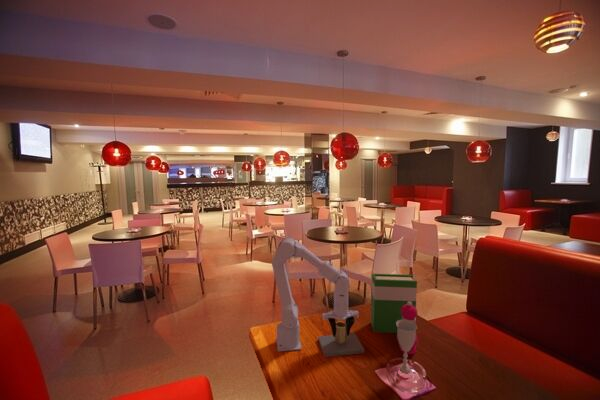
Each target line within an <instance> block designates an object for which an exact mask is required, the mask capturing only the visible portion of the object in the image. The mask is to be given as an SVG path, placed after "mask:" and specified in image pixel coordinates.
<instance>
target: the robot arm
mask: <svg viewBox="0 0 600 400" xmlns="http://www.w3.org/2000/svg"><path fill="white" fill-rule="evenodd" d="M293 256H294V257H293ZM292 257H293V258H294V259H296V258H297V259H298V258H300V259H301V258H302V259H304V260H305V261H306V262H308V263H309V264H310V265H312V266H314V267H315V268H317V272H318V274H319V275H321V276H323V278H325V279H326V280H328V281H329V282H330V283H332V284H334V291H333V310H332V311H328V312H326V313H323V312H322V319H323V321H327V320H328V322H329V325H330V328H331V335H333V336H334V337H335V336H336V331H335V329H336V322H337V321H336V319H338V320H340V321H345V323H346V324H347V325H348V329H347V336H349V334H350V332H351V330H352V328H353V325H354V324H355V321H356V320H355V318H356V319H357V318H360V313H359V311H358V310H351V309H350V310H349V288H350V286H351V283H350V281H349V280H350V279H349V277H348V274H347V273H345V271H344V270H341V269H339V268H337V267H336V266H334V264H333V262H331V261H328V260H321V259H320V258H319V257H318V256H316V254H315V253H313V252H312V251H310V250H309V249H308V248H307V247H306V246H305V245H303V244H302V243H301V242H299V241H298V240H295V238H293V237H292V236H286V237H284V238H282V240H281V241H280V242H279V244H278V246H277V248H276V251H275V252H274V255H273V257H272V260H271V266H272V271H273V275H274V278H275V279H274V280H275V283H276V288H277V292H278V295H279V299H280V304H281V315H282V317H281V322H280V323H278V324H276V338H275V343H276V346H277V347H276V348H277V349H276V350H277V352H287V351H298V350H299V351H300V350H302V345H301V340H300V321H299V320H298V318H299V311H300V309H299V307H298V306H297V304H296V303H295V299H294V298H293V294H292V289H291V286H290V282H289V278H288V272H287V269H286V262H287V261H288V260H290V259H291V258H292Z"/></svg>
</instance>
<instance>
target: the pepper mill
mask: <svg viewBox="0 0 600 400" xmlns="http://www.w3.org/2000/svg"><path fill="white" fill-rule="evenodd" d="M401 313H402V315H403V316H402V320H403V319H405V320H410V321H412V322H414V323H416V320H417V317H418V309H417V307H416V308H415V307H414V306H413V305H412V303H411V302H410V301H408V302H407V304H406V305H403V306H402V308H401ZM418 342H419V340H418V335H417V333H416V334H415V342H414V344H413V346H412V348H411V349H410V351H408V352H407V355H414V354H416V352H417V346H418ZM398 344H399V343H398ZM398 348H399V351H401V352H402V353H404V351H403V350H402V349H401V346H400V344H399V347H398Z"/></svg>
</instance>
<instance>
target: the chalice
mask: <svg viewBox="0 0 600 400" xmlns="http://www.w3.org/2000/svg"><path fill="white" fill-rule="evenodd" d="M396 325H397V327H398V328H397V333H396V339H397V341H398V344H400V346H401V349H402V350H403V351H404V352H403V354H402V357H403V359H402V362H403V364H402V363H401V364H400V365H399V366H400V367H399V366H398V368H400V371H401V372H402V373H405V374H408V373H410V370H411V368H410V367H409V366H408V365H407V363H408V356H409V354H407V352H408V351H410V349H411V348H412V346H413V344H414V342H415V334H416V335H417V331H416V330H418V325H417V324H416V322H415V323H414V322H412V321H410V320H405V319H403V320H398V321H397V322H396Z"/></svg>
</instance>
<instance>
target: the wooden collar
mask: <svg viewBox="0 0 600 400" xmlns="http://www.w3.org/2000/svg"><path fill="white" fill-rule="evenodd" d="M335 322H336V329H335V331H336V336H335V337H334V339H335V341H337V342H340V343H341V342H345V341H346V340H347V329H348V325H347V324H346V321H344V320H337V321H335Z"/></svg>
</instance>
